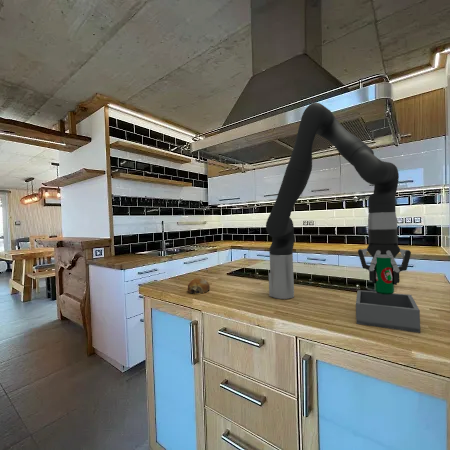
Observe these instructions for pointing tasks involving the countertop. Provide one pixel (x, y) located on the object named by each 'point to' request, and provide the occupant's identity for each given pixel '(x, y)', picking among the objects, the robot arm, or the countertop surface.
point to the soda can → (384, 275)
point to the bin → (387, 311)
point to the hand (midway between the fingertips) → (384, 283)
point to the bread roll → (198, 286)
